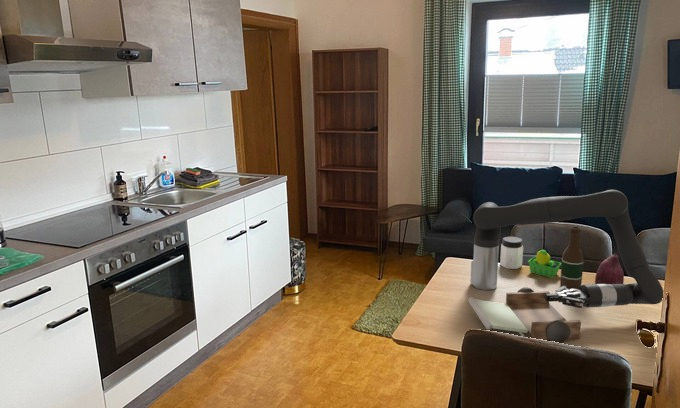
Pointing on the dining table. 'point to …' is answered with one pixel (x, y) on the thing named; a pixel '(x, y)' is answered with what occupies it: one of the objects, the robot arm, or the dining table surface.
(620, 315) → the dining table surface
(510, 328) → the tailgate
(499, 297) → the dining table surface
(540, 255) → the fruit basket
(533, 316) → the cart bed
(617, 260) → the vegetable
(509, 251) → the jar
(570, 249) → the beer bottle
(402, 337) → the dining table surface
